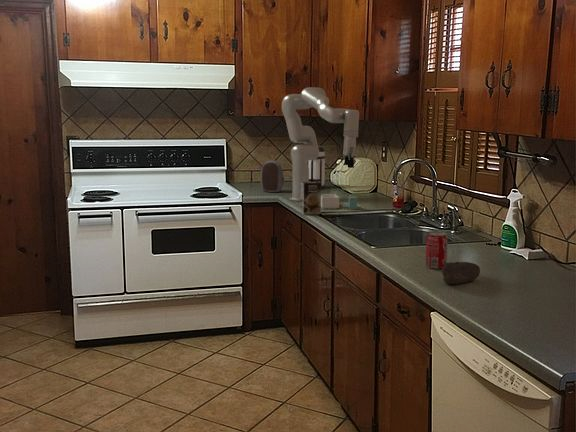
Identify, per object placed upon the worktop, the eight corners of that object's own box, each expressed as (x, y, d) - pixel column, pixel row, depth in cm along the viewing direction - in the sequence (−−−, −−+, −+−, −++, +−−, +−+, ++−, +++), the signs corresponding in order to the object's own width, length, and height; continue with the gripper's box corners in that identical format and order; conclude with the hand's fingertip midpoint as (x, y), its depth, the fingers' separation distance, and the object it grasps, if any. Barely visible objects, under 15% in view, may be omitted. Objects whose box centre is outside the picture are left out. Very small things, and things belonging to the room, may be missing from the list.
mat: (336, 204, 337) (336, 203, 337) (357, 203, 338) (357, 203, 338) (342, 209, 319) (342, 209, 319) (364, 209, 321) (364, 208, 320)
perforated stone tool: (474, 278, 198) (475, 257, 197) (485, 282, 194) (486, 261, 192) (435, 283, 193) (436, 261, 191) (446, 287, 188) (447, 265, 187)
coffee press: (298, 187, 401) (298, 141, 395) (319, 185, 408) (319, 140, 402) (311, 190, 386) (311, 143, 380) (332, 189, 393) (333, 142, 387)
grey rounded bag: (258, 192, 379) (258, 160, 375) (263, 190, 387) (263, 158, 383) (281, 193, 374) (281, 160, 370) (286, 191, 382) (286, 159, 378)
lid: (339, 204, 335) (339, 193, 333) (356, 204, 336) (356, 193, 334) (344, 209, 320) (344, 197, 318) (362, 208, 320) (362, 197, 319)
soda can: (442, 264, 214) (444, 231, 212) (448, 270, 207) (450, 235, 205) (422, 264, 214) (424, 231, 212) (428, 270, 207) (429, 235, 205)
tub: (318, 205, 334) (319, 194, 332) (335, 204, 334) (335, 194, 333) (322, 208, 322) (322, 197, 321) (339, 208, 323) (339, 197, 322)
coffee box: (303, 215, 304) (304, 183, 301) (300, 212, 310) (300, 181, 307) (321, 214, 307) (321, 182, 304) (317, 212, 313) (317, 180, 310)
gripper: (340, 132, 326) (339, 163, 329) (346, 135, 309) (344, 168, 313) (354, 132, 326) (352, 164, 330) (361, 135, 310) (359, 168, 313)
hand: (348, 166), depth 321 cm, fingers open, 9 cm apart
